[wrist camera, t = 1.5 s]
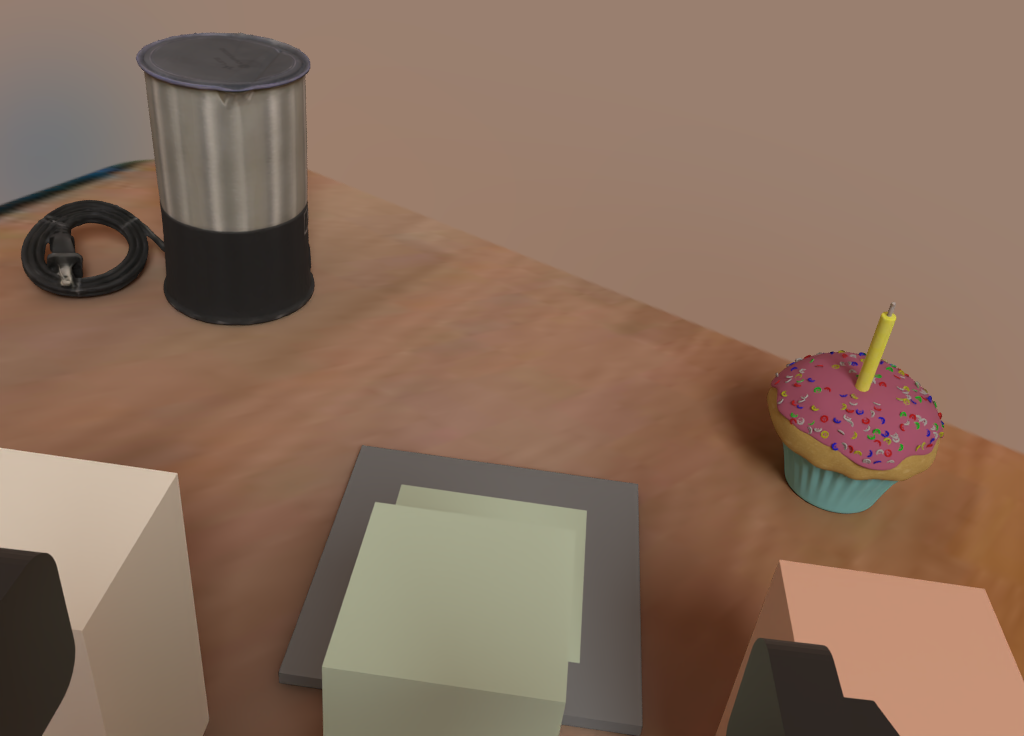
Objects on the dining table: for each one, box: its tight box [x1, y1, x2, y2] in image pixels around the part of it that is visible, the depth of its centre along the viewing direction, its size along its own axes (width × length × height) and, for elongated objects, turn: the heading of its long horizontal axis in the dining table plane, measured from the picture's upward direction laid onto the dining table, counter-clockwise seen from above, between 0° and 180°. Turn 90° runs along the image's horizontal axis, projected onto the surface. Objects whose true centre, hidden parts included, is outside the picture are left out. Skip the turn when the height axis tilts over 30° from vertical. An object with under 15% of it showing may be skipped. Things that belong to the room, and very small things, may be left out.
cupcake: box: [767, 302, 944, 513], centre depth 47 cm, size 9×8×12 cm
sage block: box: [322, 502, 576, 736], centre depth 29 cm, size 6×6×12 cm
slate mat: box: [279, 445, 643, 736], centre depth 42 cm, size 14×14×1 cm
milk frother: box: [21, 33, 314, 325], centre depth 56 cm, size 14×16×15 cm
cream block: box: [0, 448, 209, 736], centre depth 29 cm, size 6×6×12 cm
